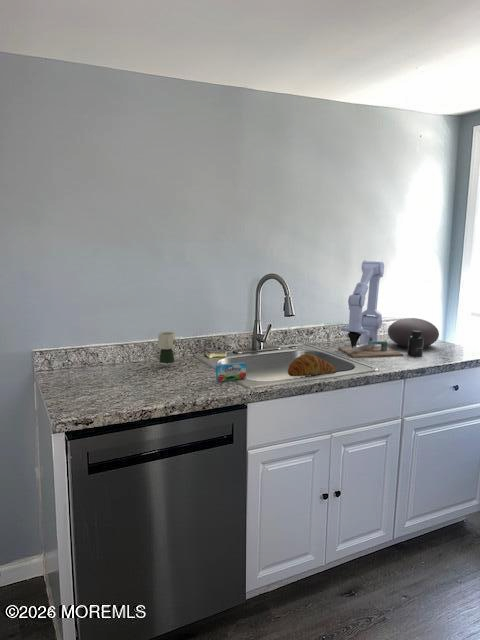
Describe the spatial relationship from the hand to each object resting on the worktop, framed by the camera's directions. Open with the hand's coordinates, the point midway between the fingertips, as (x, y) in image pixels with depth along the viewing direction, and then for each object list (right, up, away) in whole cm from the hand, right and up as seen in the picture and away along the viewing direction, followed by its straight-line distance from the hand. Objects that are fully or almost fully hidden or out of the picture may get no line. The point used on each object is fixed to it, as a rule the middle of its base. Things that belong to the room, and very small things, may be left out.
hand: (353, 347), depth 225 cm
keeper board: (+8, -3, +2) cm, 9 cm away
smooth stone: (+34, -1, +16) cm, 38 cm away
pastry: (-26, -9, -35) cm, 45 cm away
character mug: (-86, -5, -25) cm, 90 cm away
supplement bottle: (+28, -4, -3) cm, 29 cm away
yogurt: (-58, -10, -47) cm, 75 cm away
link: (+6, -1, +3) cm, 7 cm away
